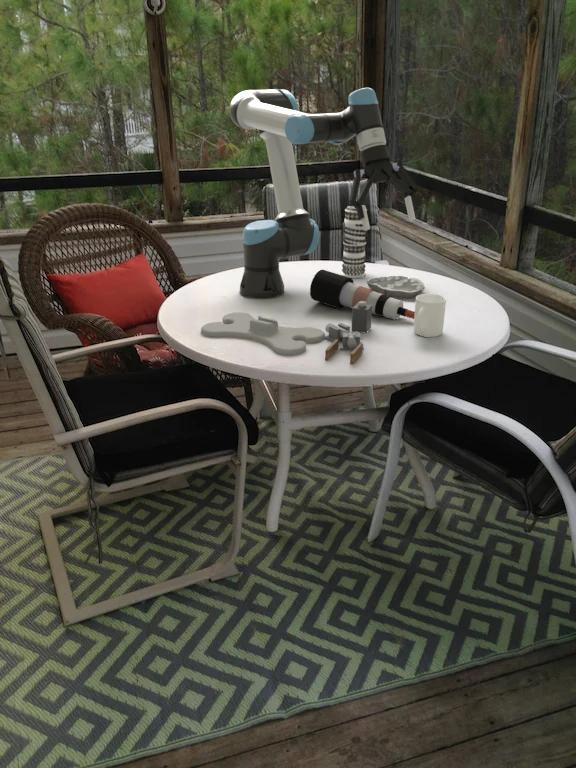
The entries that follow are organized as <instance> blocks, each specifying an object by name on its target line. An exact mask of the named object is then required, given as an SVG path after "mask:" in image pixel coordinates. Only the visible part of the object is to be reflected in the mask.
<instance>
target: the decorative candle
mask: <svg viewBox="0 0 576 768" xmlns="http://www.w3.org/2000/svg"><path fill="white" fill-rule="evenodd" d="M363 205H364V204H362V206H363ZM344 211H345V213H344V221H343V223H342V230H341V231H342V232H343V234H342V244H343V255H342V257H341V258H342V264H341V267H342V268H341V275H342V276H346V277H349V278H351V279H357V278H358V279H359V278H363V277H365V276H366V273H365V272H366V262H367V261H366V258H367V257H366V250H365V249H366V245H367V241H368V240H367V239H366V237H368V234H367V232H368V231H369V230H367V231H364V226H363V222H362V219H359V218H358V214H357V209H356V208H355V207H353V206H351V207H350V206H349V205H348V206H347V207H346V208H345V209H344ZM366 211H368V209H367V208H366Z"/></svg>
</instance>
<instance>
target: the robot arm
mask: <svg viewBox="0 0 576 768" xmlns="http://www.w3.org/2000/svg"><path fill="white" fill-rule="evenodd" d="M298 105H299V104H298V102H297V100H296V97H295V96H294V95H293V93H291V92H290V91H289V90H287V89H281V88H280V89H279V88H273V89H246V90H243V91H240V92H238V93H237V94H236V95H235V96H234V97H233V98H232V99H231V102H230V104H229V109H228V112H229V117H230V119H231V121H232V123H233V124H234V125H235V126H237V127H239V128H241V129H245V130H247V131H248V130H249V131H250V130H256V129H257V130H258V133H259V137H260V138H262V139H263V140H264V141H265V147H266V151H267V158H268V163H269V167H270V168H269V169H270V175H271V179H272V180H271V181H272V185H273V191H274V197H275V203H276V206H277V207H276V208H277V215H276V217H275V219H264V220H263V219H262V220H256V221H253V222H250V223H248V224H247V225H245V226H244V229H243V233H242V242H243V243H242V244H243V245H242V246H243V266H244V268H243V269H244V270H243V274H242V278H241V281H240V284H239V294H240V295H241V296H243V297H245V298H248V299H249V298H250V299H256V300H257V299H259V300H261V299H262V300H266V299H272V298H277V297H280V296H282V295H283V294H284V293H285V283H284V281H283V278H282V275H281V272H280V263H279V262H280V260H282V259H283V260H284V259H290V258H296V257H303V256H305V255H310V254H312V253H313V252H314V251H315V250H316V249H317V246H318V245H319V240H320V230H319V229H320V228H319V225H318V223H316V221H315V220H314V219H312V218H310V214H309V212H308V211H306V209H304V206H303V205H304V204H303V199H302V194H301V189H300V182H299V176H298V170H297V165H296V160H295V159H296V158H295V153H294V147H293V145H295V144H296V145H305V144H316V143H329V144H332V145H333V146H339V145H343V144H345V143H347V142H348V141H350V140H351V139H353V138H354V137H355V136H356V140H357V145H358V146H357V147H358V149H359V151H361V152H360V159H361V163H362V167H363V169H359V168H356V169H355V170H354V171H353V172H352V174H353V182H352V187H351V191H350V196H349V200H348V206H350V207H351V206H353V207H355V208H356V209H357V214H358V218H359V219H362V222H363V226H364V231H367V230H368V231H369V230H371V225H370V221H369V217H368V212H367V211H368V210H367V211H366V209H367V207H366V205H365V204H363V203H364V201H365V199H366V197H367V195H368V193H369V190H370V188H371V187H372V185H373V184H374V185H376V184H378V183H386V182H387V183H390V184H391V185H392V186H394V187H395V188H396V189H397V190H399V191H400V192H401V193H402V194H403V195H404V196H406V197H404V202H405V203H404V204H405V207H406V213H407V217H408V221H409V222H412V221H414V220H416V215H415V210H414V209H415V208H416V202H415V201H416V200H415V196H414V195H415V194H417V193H418V192H419V191H420V188H419V186H418V185H417V184H416V182H415V181H414V179H412V177H411V176H410V175H409V173H408V172H407V170H406V169H405V168H404V165H403V162H402V160H398V161H397V162H395V163H392V162H391V159H390V153H389V148H388V146H387V139H386V135H385V129H384V126H383V121H382V115H381V111H380V107H379V100H378V98H377V95H376V92H375V90H374V89H373V88H371V87H363V88H359V89H356V90H354V91H352V92H350V94H349V95H348V107H347V108H345V109H343V111H340V112H329V113H324V112H323V113H308V112H307V113H306V112H303V111H299V106H298ZM393 170H394V171H395V172H396V173H397V175H398V176H399V177H400V179H399V177H397V175H395V173H393ZM363 176H365V178H367V179H366V181H365V183H364V186H363V187H362V190H361V192H360V194H359V196H358V193H359V188H360V184H361V180H362V179H361V178H362V177H363ZM401 180H402V181H401ZM362 205H363V206H362ZM368 231H367V232H368Z"/></svg>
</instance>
